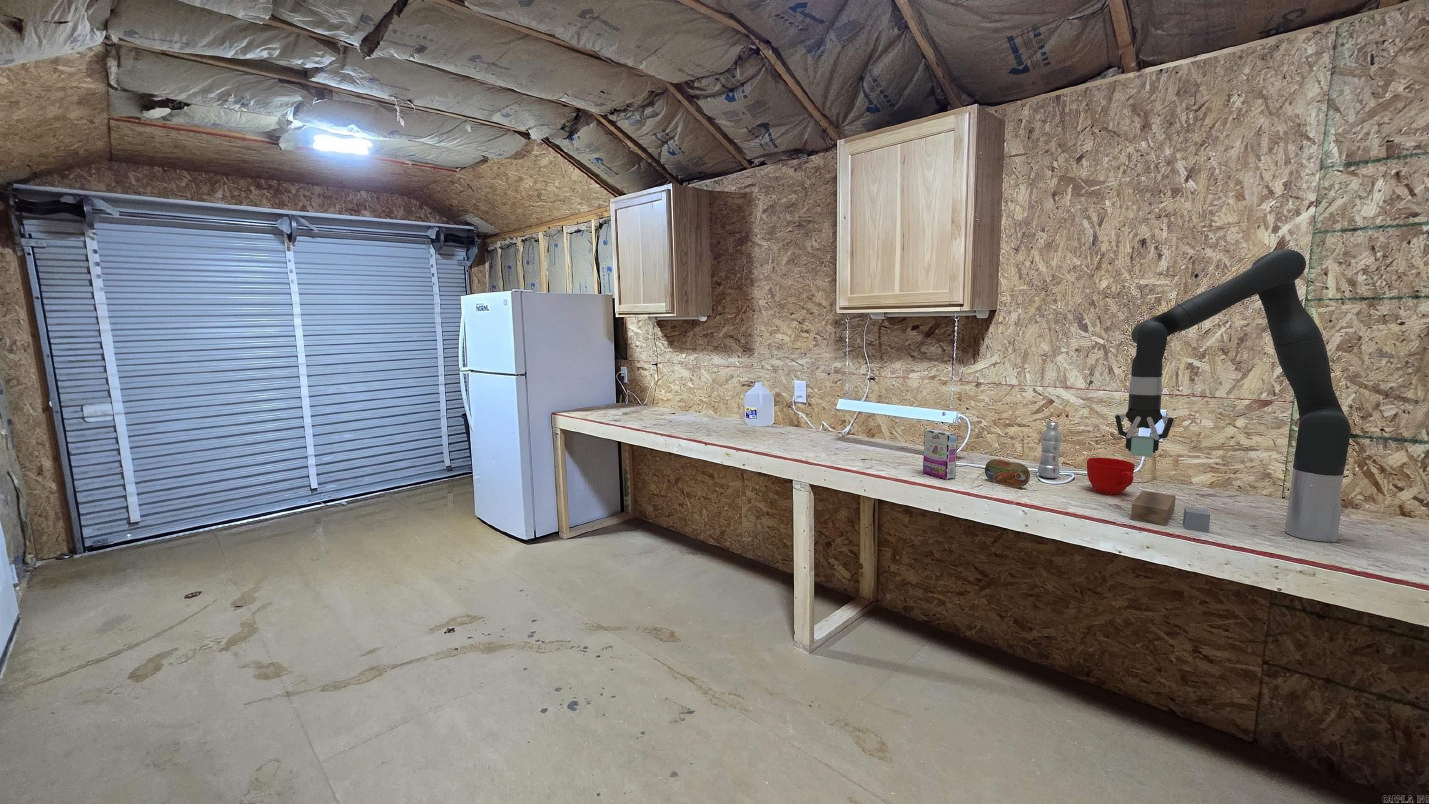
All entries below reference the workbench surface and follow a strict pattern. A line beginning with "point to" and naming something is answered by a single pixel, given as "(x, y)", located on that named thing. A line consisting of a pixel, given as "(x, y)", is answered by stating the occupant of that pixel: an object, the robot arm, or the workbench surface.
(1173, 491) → the workbench surface
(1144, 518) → the walnut block
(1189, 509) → the slate cube
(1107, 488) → the ceramic cup
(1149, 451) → the green cube
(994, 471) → the tin
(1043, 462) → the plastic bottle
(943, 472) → the candy bar box
